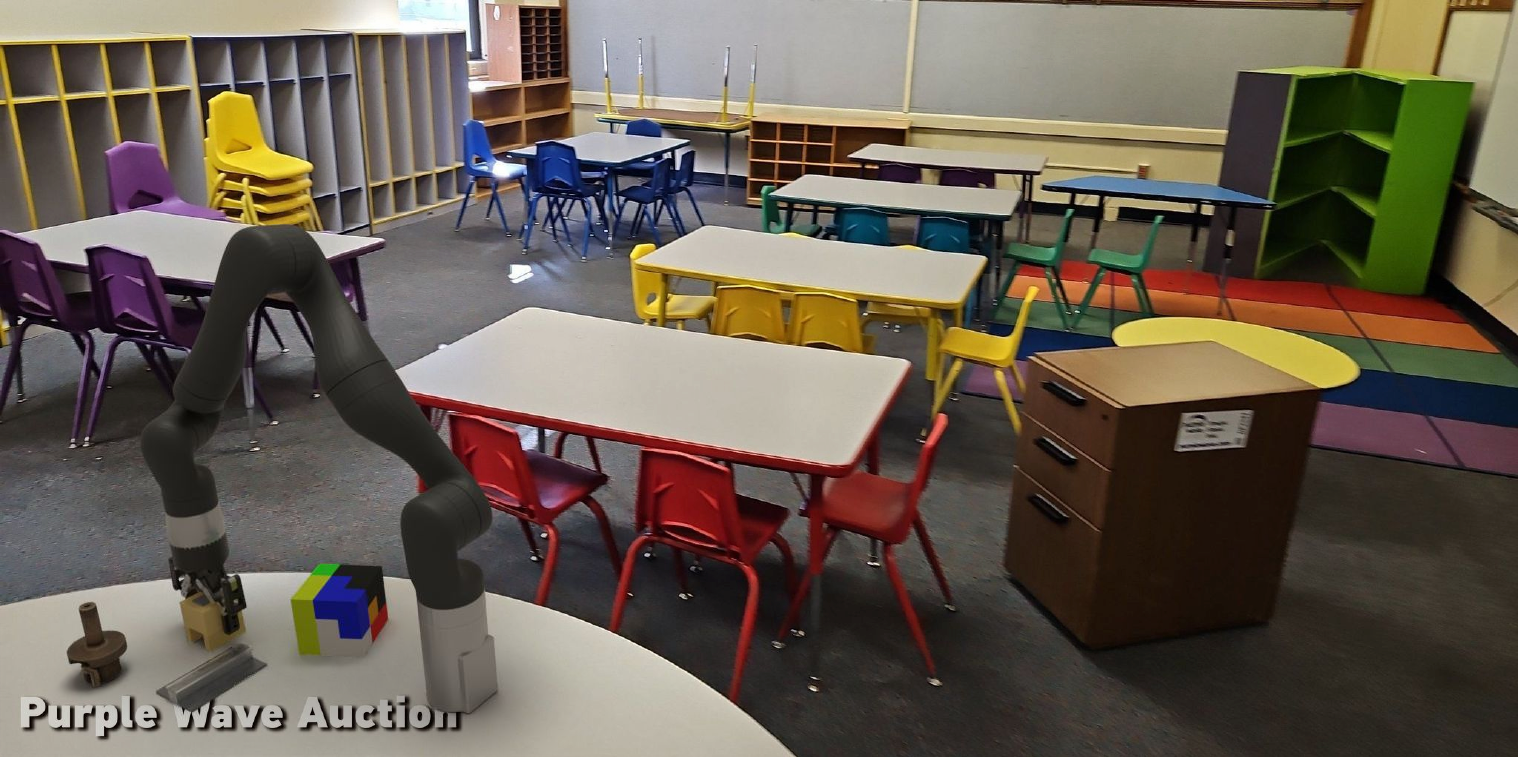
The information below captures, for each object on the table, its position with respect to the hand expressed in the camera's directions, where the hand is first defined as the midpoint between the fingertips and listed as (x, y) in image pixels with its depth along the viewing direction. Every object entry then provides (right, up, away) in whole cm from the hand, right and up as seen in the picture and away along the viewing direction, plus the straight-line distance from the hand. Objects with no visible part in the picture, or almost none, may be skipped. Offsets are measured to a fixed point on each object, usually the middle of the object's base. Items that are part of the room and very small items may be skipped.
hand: (214, 623), depth 156 cm
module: (0, -2, +1) cm, 2 cm away
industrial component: (-11, -5, -8) cm, 15 cm away
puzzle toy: (+20, -3, +2) cm, 20 cm away
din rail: (+5, -6, -9) cm, 12 cm away
